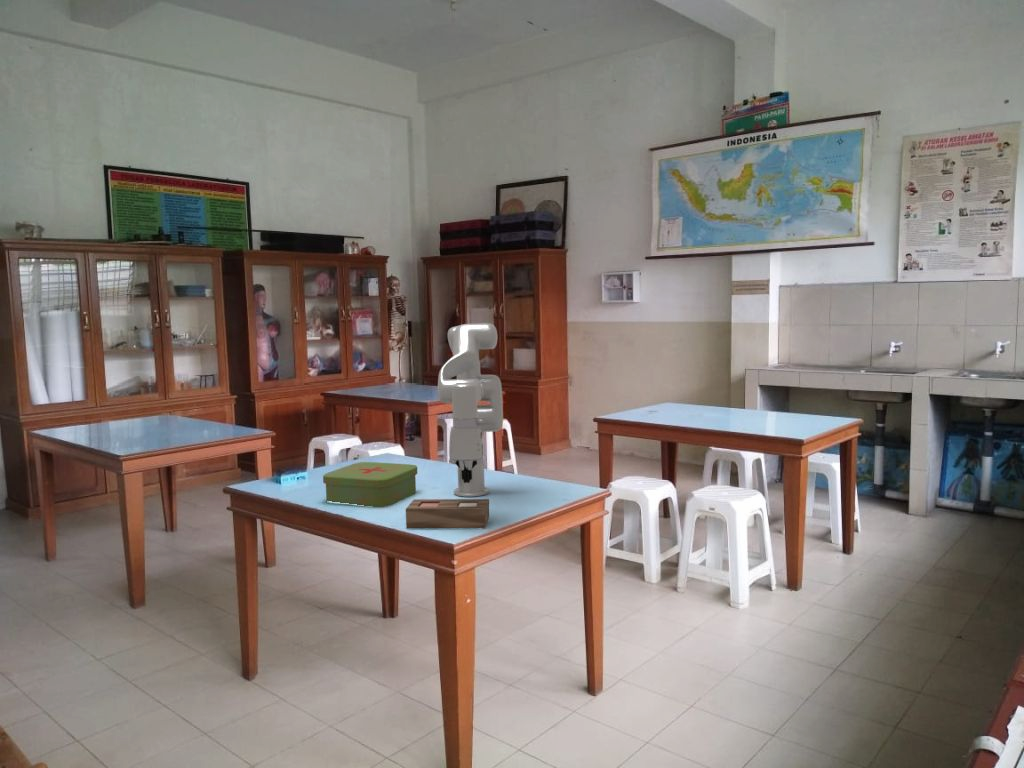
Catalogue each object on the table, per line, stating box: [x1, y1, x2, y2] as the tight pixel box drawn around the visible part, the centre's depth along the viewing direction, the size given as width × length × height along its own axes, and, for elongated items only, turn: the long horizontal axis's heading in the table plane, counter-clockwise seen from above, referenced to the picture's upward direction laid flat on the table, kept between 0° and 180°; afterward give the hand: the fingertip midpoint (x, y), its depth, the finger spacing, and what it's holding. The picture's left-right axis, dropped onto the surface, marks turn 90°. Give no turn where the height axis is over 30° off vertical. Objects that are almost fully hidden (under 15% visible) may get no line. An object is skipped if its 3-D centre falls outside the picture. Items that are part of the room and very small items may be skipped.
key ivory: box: [459, 503, 477, 506], centre depth 233 cm, size 5×5×4 cm
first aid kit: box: [322, 461, 418, 508], centre depth 270 cm, size 26×26×10 cm
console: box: [405, 498, 491, 530], centre depth 234 cm, size 12×24×6 cm, turn 86°
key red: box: [420, 503, 439, 507], centre depth 234 cm, size 5×5×4 cm
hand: (467, 481), depth 233 cm, fingers closed
